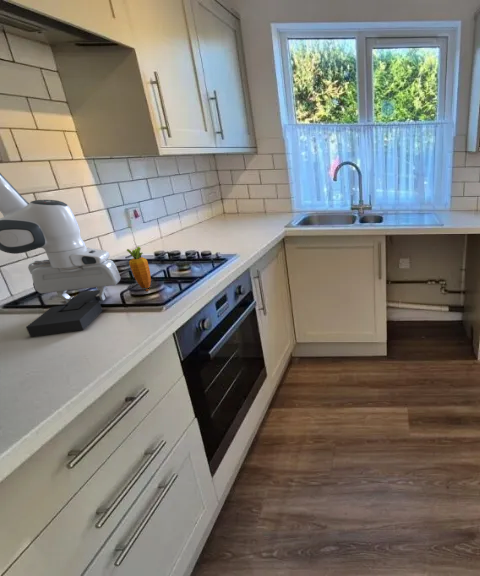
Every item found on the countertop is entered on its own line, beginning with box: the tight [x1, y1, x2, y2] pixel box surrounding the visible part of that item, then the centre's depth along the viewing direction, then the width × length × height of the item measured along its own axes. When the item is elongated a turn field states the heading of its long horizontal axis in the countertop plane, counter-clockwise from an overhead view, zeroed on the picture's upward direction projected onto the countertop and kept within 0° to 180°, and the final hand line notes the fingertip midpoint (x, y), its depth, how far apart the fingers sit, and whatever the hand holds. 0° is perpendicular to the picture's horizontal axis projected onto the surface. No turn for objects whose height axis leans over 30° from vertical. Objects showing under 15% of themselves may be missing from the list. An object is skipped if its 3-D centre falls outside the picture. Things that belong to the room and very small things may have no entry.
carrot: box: [126, 246, 152, 292], centre depth 115 cm, size 5×5×15 cm
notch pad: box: [25, 302, 104, 338], centre depth 98 cm, size 12×12×3 cm
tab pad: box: [62, 289, 107, 312], centre depth 106 cm, size 6×14×3 cm, turn 16°
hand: (86, 301), depth 108 cm, fingers open, 6 cm apart
